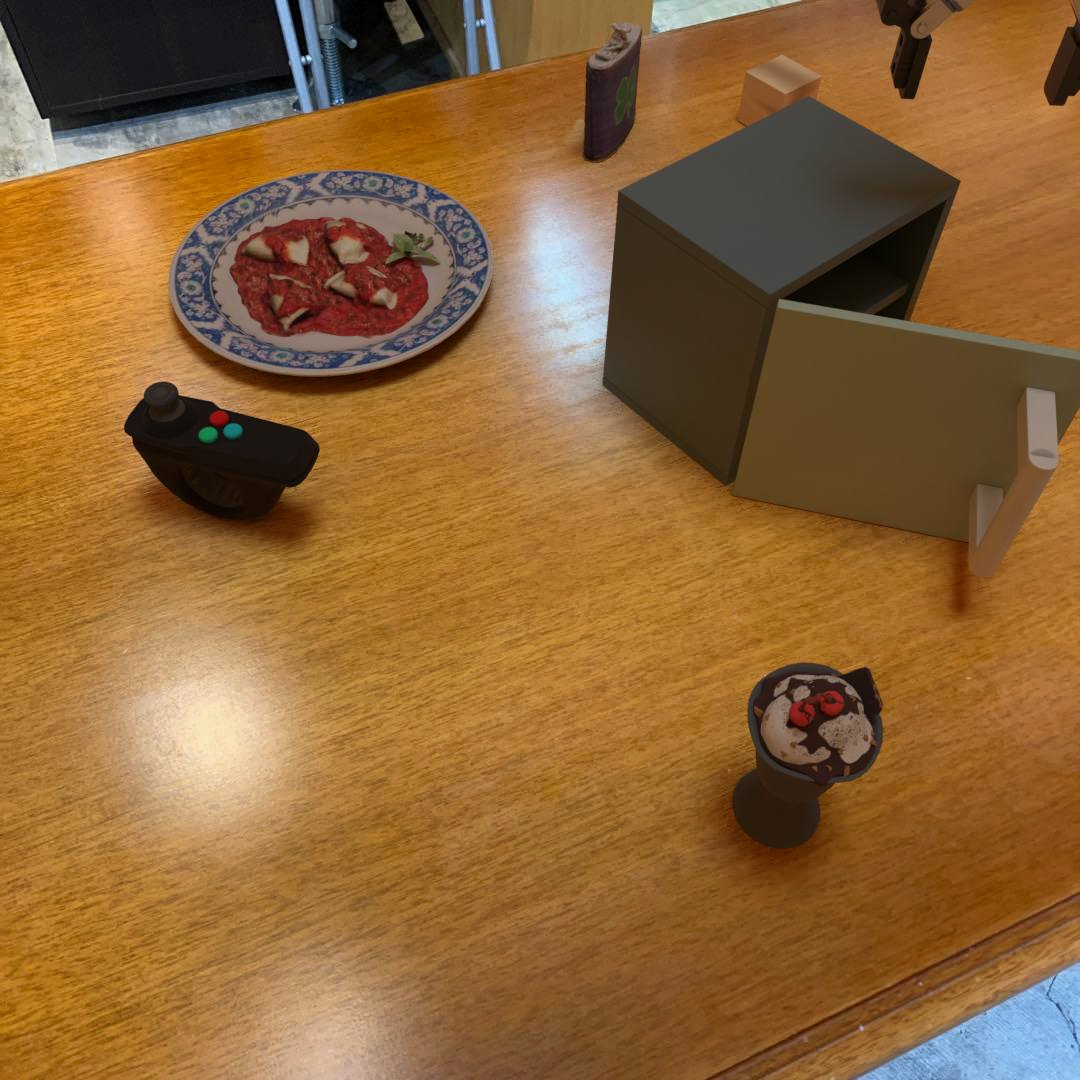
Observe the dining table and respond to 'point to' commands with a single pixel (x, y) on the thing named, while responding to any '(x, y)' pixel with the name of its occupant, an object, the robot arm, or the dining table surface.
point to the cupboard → (758, 263)
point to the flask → (611, 92)
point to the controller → (218, 453)
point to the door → (907, 425)
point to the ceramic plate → (330, 273)
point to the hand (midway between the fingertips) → (978, 95)
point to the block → (775, 88)
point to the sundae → (805, 747)
